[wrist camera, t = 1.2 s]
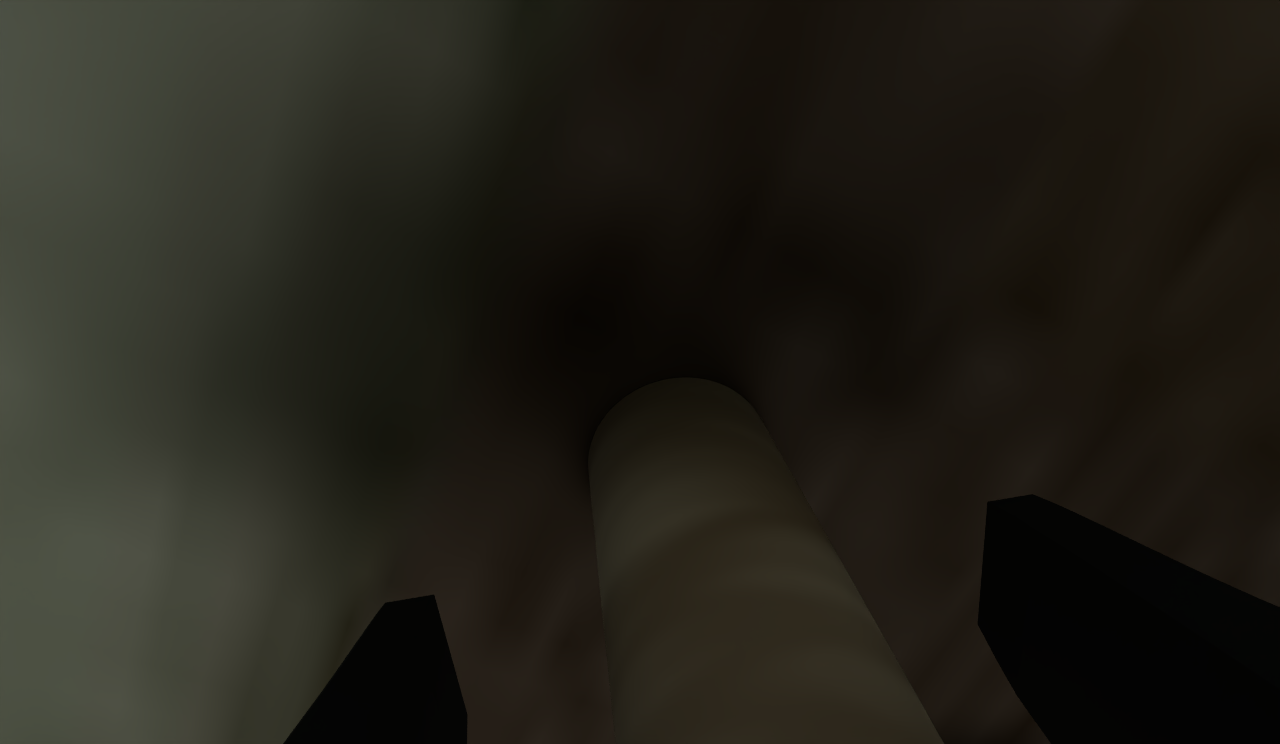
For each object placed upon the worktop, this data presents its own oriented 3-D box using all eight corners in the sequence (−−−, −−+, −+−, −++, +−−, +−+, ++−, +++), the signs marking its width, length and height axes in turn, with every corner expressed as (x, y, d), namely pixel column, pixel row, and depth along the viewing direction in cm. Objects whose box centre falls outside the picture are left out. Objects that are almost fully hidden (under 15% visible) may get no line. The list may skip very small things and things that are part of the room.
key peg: (763, 364, 13) (1038, 774, 6) (772, 522, 14) (1005, 1019, 7) (575, 392, 13) (613, 853, 6) (601, 549, 14) (660, 1090, 7)
